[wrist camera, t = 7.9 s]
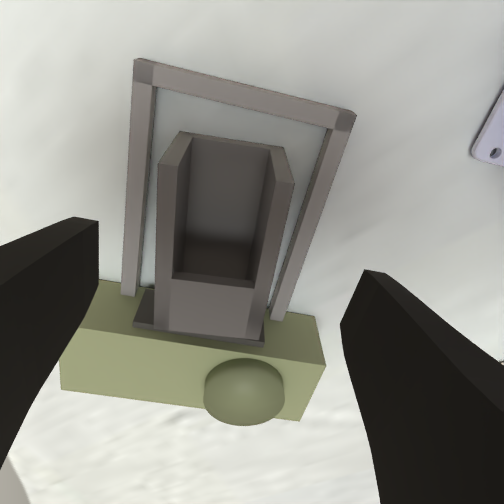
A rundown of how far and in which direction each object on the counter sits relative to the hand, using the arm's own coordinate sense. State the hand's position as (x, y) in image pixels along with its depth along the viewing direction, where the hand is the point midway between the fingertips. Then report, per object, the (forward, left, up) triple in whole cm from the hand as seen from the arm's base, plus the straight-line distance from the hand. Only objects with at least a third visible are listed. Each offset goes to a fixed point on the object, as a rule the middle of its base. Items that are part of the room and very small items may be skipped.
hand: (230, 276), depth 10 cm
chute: (0, +3, -10) cm, 10 cm away
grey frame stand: (0, +5, -10) cm, 11 cm away
